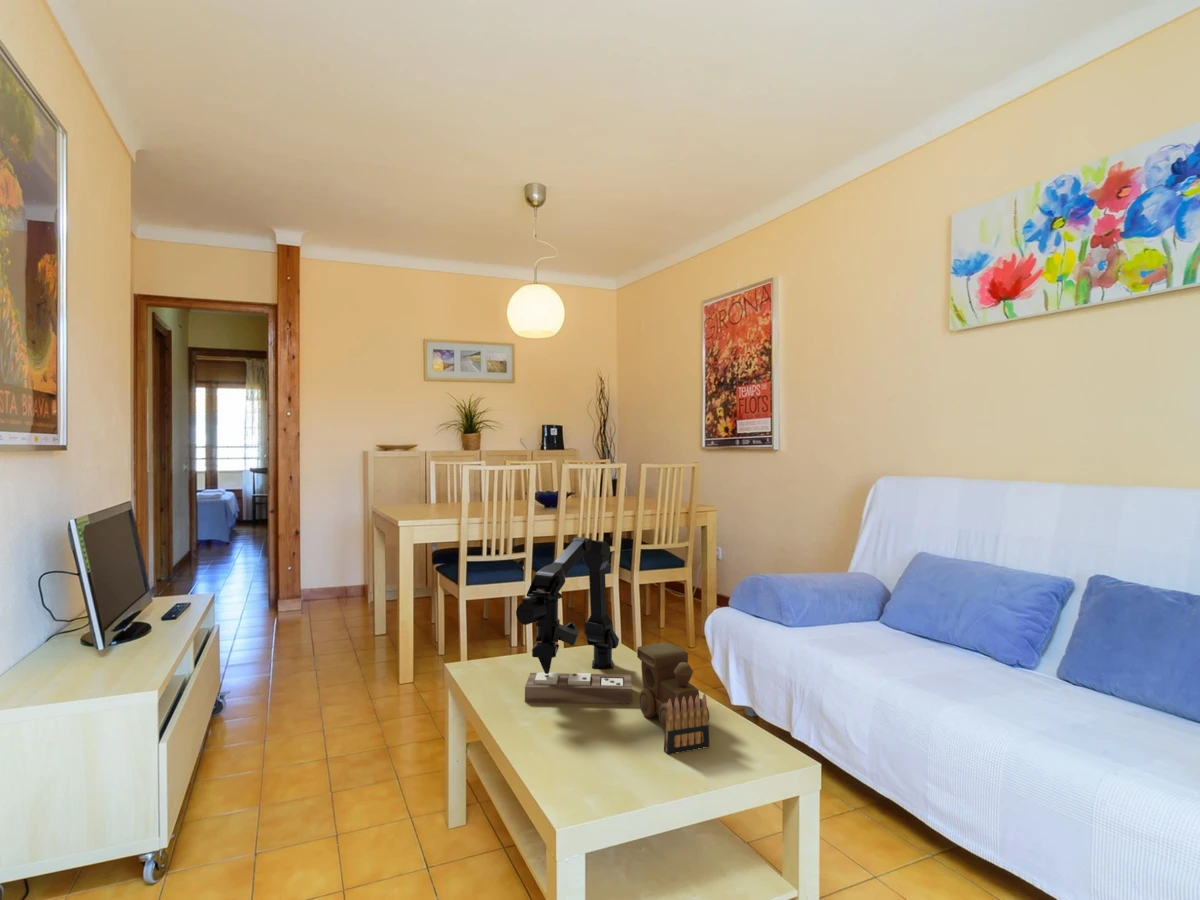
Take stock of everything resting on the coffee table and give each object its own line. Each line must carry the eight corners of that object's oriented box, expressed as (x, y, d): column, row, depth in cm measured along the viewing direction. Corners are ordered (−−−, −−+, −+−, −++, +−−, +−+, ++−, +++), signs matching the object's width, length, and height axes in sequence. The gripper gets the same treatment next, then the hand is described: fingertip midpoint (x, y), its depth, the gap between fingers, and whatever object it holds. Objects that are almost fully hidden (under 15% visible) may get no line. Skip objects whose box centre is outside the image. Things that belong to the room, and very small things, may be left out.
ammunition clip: (705, 743, 148) (705, 691, 148) (709, 747, 147) (710, 694, 147) (663, 750, 145) (664, 697, 145) (667, 754, 143) (667, 700, 143)
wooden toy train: (633, 710, 168) (633, 646, 168) (671, 703, 172) (671, 641, 172) (672, 741, 149) (673, 670, 149) (713, 733, 154) (714, 663, 154)
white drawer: (537, 681, 180) (537, 671, 180) (558, 682, 180) (558, 672, 180) (534, 689, 174) (534, 679, 174) (556, 689, 174) (556, 679, 174)
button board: (530, 686, 183) (530, 672, 183) (630, 688, 182) (630, 674, 182) (524, 701, 172) (524, 686, 172) (631, 703, 171) (632, 688, 171)
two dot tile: (569, 682, 180) (569, 672, 180) (590, 682, 180) (590, 672, 180) (567, 690, 174) (567, 679, 174) (589, 690, 174) (590, 680, 174)
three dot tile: (601, 687, 180) (601, 677, 180) (622, 687, 180) (622, 677, 180) (600, 695, 174) (601, 685, 174) (623, 695, 174) (623, 685, 174)
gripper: (574, 626, 168) (574, 686, 168) (578, 608, 187) (578, 662, 187) (532, 625, 168) (531, 685, 168) (540, 608, 187) (539, 662, 187)
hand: (547, 673), depth 177 cm, fingers closed
